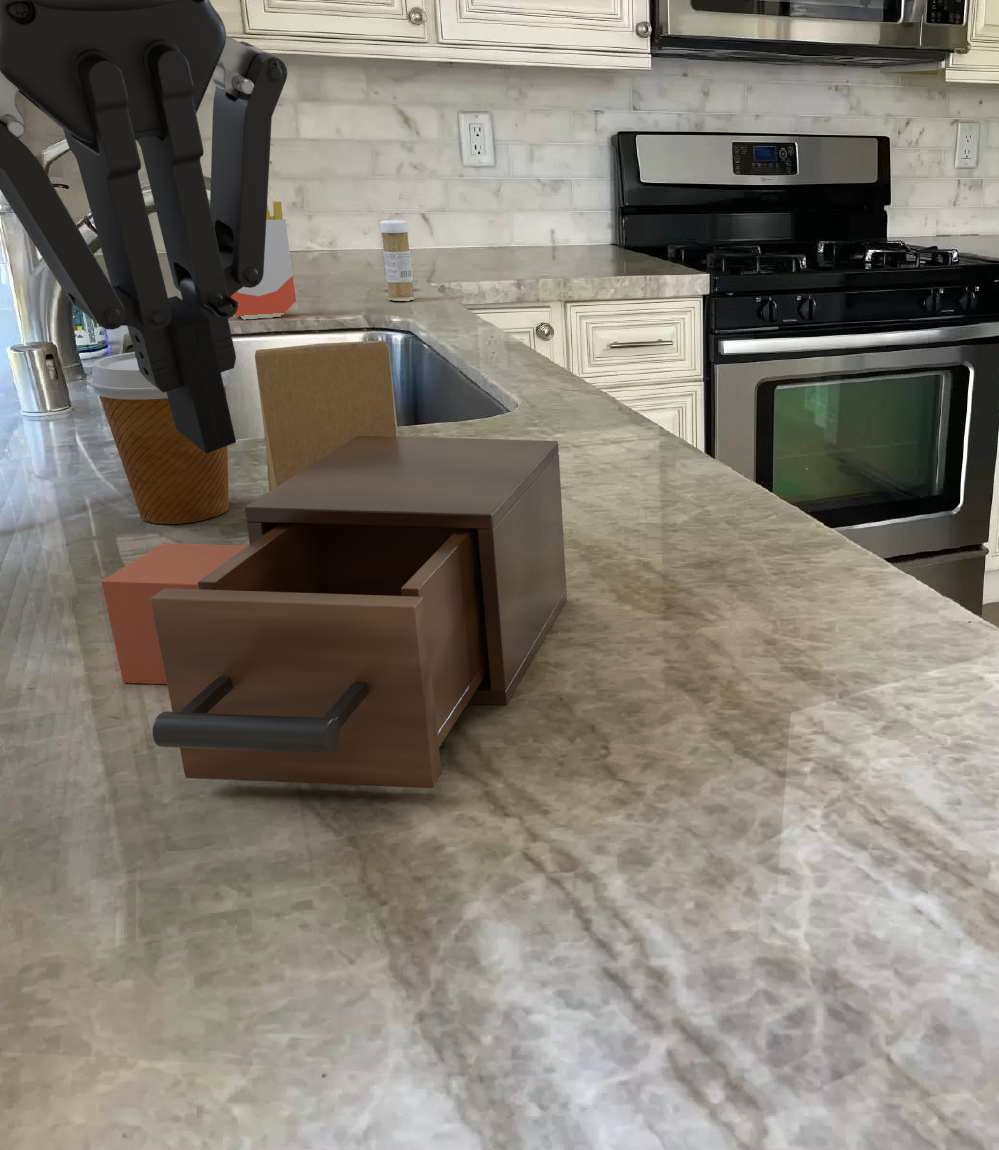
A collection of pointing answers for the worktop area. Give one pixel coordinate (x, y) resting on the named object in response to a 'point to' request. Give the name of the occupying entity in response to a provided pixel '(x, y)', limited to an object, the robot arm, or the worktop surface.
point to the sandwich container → (322, 401)
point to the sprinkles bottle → (397, 258)
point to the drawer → (325, 656)
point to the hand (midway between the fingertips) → (205, 435)
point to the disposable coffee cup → (158, 447)
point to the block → (133, 605)
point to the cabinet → (452, 523)
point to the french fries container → (271, 273)
